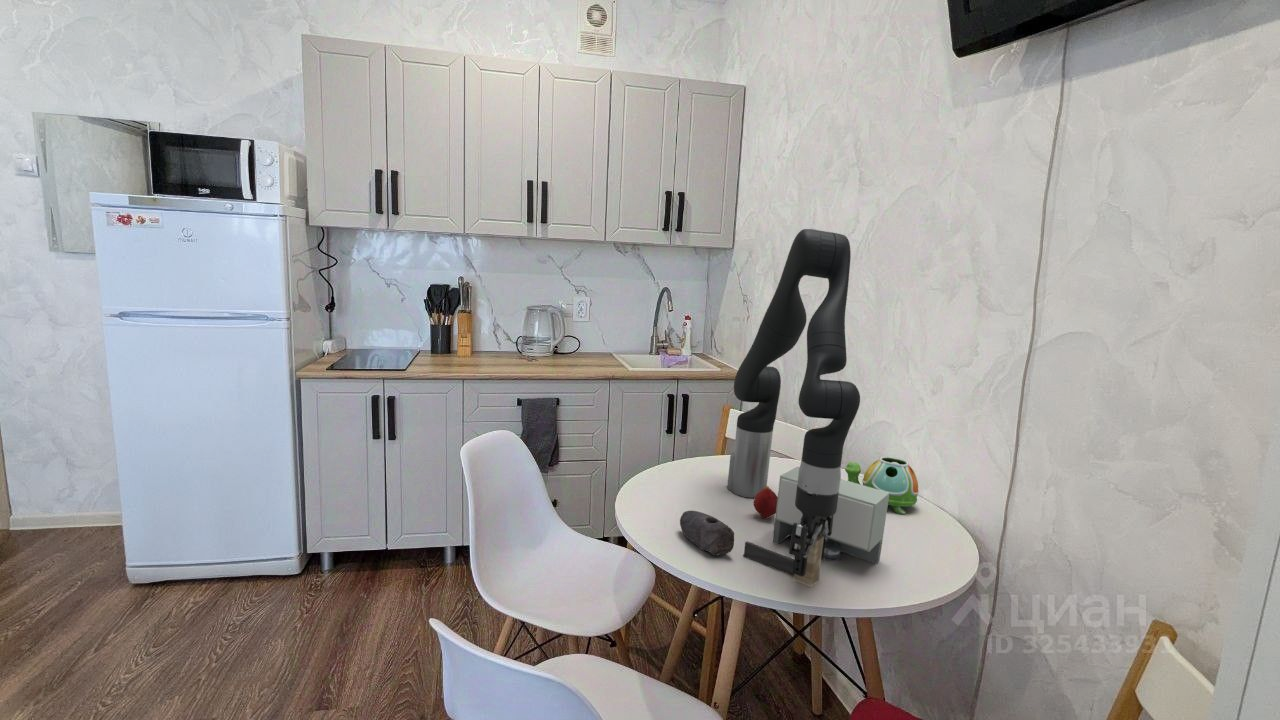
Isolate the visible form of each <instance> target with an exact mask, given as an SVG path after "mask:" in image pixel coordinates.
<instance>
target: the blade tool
mask: <svg viewBox="0 0 1280 720" xmlns="http://www.w3.org/2000/svg"><path fill="white" fill-rule="evenodd" d="M806 540H808V541H809V540H810V539H806ZM823 540H824V536H822V535H820V536H819V537H817V539H816V542H815V545H814V547H812V548H810V551H809V553H808V557H807V565H806V573H805V575H804V576H803V577H801V576H799V575H796V574H794V573H793V564H794V558H792V557H789V556H786V555H785V554H781V553H779V552H776V551H773V550H770V549H769V548H765V547H763V546H761V545H759V544H755V543H753V542H749V541H747V540H746V541H745V542H744V552H743V557H745V558H747V559H750V560H751V561H754V562H756V563H759V564H762V565H765V566H766V567H769V568H773V569H775V570H777V571H779V572H782V573H784V574H787V575H790V576H791V577H793V581H794V582H798V583H800V584H802V585H804V586H808V587H810V588H811V587H813V586H814V585H815V584H816V583H817V582H818V581H819V577H820V569H821V563H822V560H821V555H822V548H823ZM805 548H806V546H805ZM799 549H800V547H799Z"/></svg>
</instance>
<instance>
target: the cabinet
mask: <svg viewBox="0 0 1280 720" xmlns="http://www.w3.org/2000/svg"><path fill="white" fill-rule="evenodd" d="M799 468H800V466H796V467H794V468H792V469H790V470H788V471H786V472H785V473H783V474H781V475H780V476H779V483H778V492H777V497H778V499H777V507H776V514H775V517H774V525H773V526H774V527H773V534H772V543H774V544H780V542H783V541H784V540H785V539H787V538H788V537H789V536H791V535H792V528H793V524H794V523H798V524H799V522H800V519H801V518H802V515H803V514H802V512H801V511H800V510H798V509H797V507H796V506H795V499H796V491H797V482H798V474H799ZM860 484H861V483H860ZM860 484H857V483H853V482H850V481H848V480H846V479H842V478H841V480H840V487H839V495H838V503H837V510H836V513H835V514H834V515H833V524H832V534H831V535H830V536H828V540H833V541H835V542H838V543H839V544H840V545H841V546H842V549H841V553H844V554H848V555H850V556H853V557H856V558H859V559H861V560H864V561H867V562H869V563H873V564H876V565H877V564H879V563H880V561H881V553H882V546H883V542H884V541H883V540H884V534H885V526H886V521H887V520H886V519H887V515H888V514H887V513H888V506H889V505H888V500H889V494H890V493H888V492H885V491H881V490H878V489H874V488H871V487H867V486H864V485H863V484H861V485H860ZM827 526H828V525H827Z"/></svg>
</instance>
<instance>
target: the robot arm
mask: <svg viewBox="0 0 1280 720" xmlns="http://www.w3.org/2000/svg"><path fill="white" fill-rule="evenodd" d="M796 234H797V235H796V236H795V237H794V239H793V241H792V243H791V247H790V249H789V252H788V255H787V258H786V261H785V264H784V267H783V270H782V272H781V276H780V279H779V282H778V284H777V286H776V289H775V292H774V295H773V296H772V299H771V300H770V303H769V305H768V307H767V308H766V311H765V313H764V316H763V318H762V321H761V322H760V325H759V328H758V331H757V334H756V335H755V337H754V340H753V343H752V344H751V346H750V348H749V350H748V352H747V353H746V355H745V358H744V359H743V361H742V363H741V364H740V366H739V368H738V370H737V372H736V375H735V377H734V382H733V393H734V395H735V397H736V399H738V400H739V401H740V402H746V403H758V404H757V405H756V406H755V407H753V408H752V409H749V410H747V411H745V412H742V413H740V414H739V415H738V417H737V418H736V430H735V438H734V450H733V453H731V454H730V456H729V467H728V476H727V477H728V478H727V486H726V489H727V490H729V491H730V492H732V493H733V494H734V495H737V496H740V497H744V498H751V499H753V498H754V499H755V497H756V495H757V494H758V493H759V492H760V491H762V490H764V489H765V486H768V479H769V470H770V469H769V468H770V462H771V461H770V460H771V453H772V452H771V451H772V450H771V449H772V443H773V442H772V441H773V435H774V434H773V433H774V426H775V422H776V418H777V412H778V406H779V400H780V394H781V381H782V380H781V379H782V378H781V375H780V371H779V370H778V369H777V368H776V367H774V366H769V365H770V364H771V363H774V362H775V361H776V360H778V359H779V358H781V357H783V356H785V355H786V354H787V353H789V351H791V350H792V349H793V348H794V347H795V346H796V345H797V343H798V341H799V340H800V338H801V336H802V333H803V332H804V329H805V327H806V325H807V320H808V319H807V311H806V308H805V305H804V302H803V299H802V297H801V292H800V286H799V285H800V282H801V279H802V278H803V277H805V276H807V277H813V278H814V277H815V278H820V279H821V278H822V279H827V281H828V290H827V293H826V294H825V297H824V299H823V300H822V302H821V303H820V305H818V307H817V309H816V310H815V312H814V313H813V314H812V316H811V318H810V320H809V322H808V326H807V329H806V352H807V357H806V359H807V361H806V370H805V374H804V377H803V381H802V384H801V387H800V391H799V395H798V406H799V408H800V409H799V410H801V413H802V414H803V415H804V416H806V417H808V418H815V419H827V420H829V419H830V420H831V422H830V423H829V424H828V425H826V426H823V427H815V428H811V429H808V430H807V431H806V432H805V434H804V439H803V443H802V444H803V445H802V452H801V460H800V465H799V467H800V468H799V474H798V482H797V491H796V499H795V506H796V507H797V509H798V510H800V511H801V512H802V514H803V515H802V518H801V519H800V522H799V524H798V523H794V524H793V528H792V534H791V535H790V542H789V549H788V554H789V555H791V556H794V558H793V559H794V564H793V573H794V574H796V575H799V576H801V577H803V576H804V575H805V573H806V565H807V557H808V553H809V551H810V548H812V547H814V545H815V542H816V539H817V537H819V536H820V535H822V536H824V540H823V548H822V555H821V561H822V560H824V559H823V558H824V550H825V542H827V540H828V536H830V535H831V534H832V524H833V515H834V514H835V513H836V510H837V503H838V495H839V487H840V480H841V479H842V475H841V474H842V473H841V469H842V468H841V467H842V459H843V454H844V453H843V452H844V446H845V441H846V439H847V436H848V434H849V431H850V429H851V426H852V424H853V423H854V421H855V420H854V419H855V418H856V416H857V414H858V411H859V409H860V405H861V404H860V403H861V394H860V391H859V389H858V387H857V386H856V385H855V384H854V383H853V382H851V381H846V380H834V379H833V380H832V379H821V376H823V375H829V374H835V373H837V372H840V371H842V370H844V369H845V367H846V365H847V360H848V359H847V345H846V344H847V342H846V322H845V321H846V308H847V299H848V290H849V282H850V281H849V280H850V271H851V270H850V268H851V259H852V258H851V255H852V254H851V244H850V240H849V239H848V237H847V236H846V235H844V234H841V233H837V232H831V231H825V230H819V229H813V228H803V229H802V230H800V231H799V232H798V233H796ZM827 525H828V526H827ZM806 539H810V540H809V541H808V540H806ZM805 546H806V548H805ZM799 547H800V549H799Z"/></svg>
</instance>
